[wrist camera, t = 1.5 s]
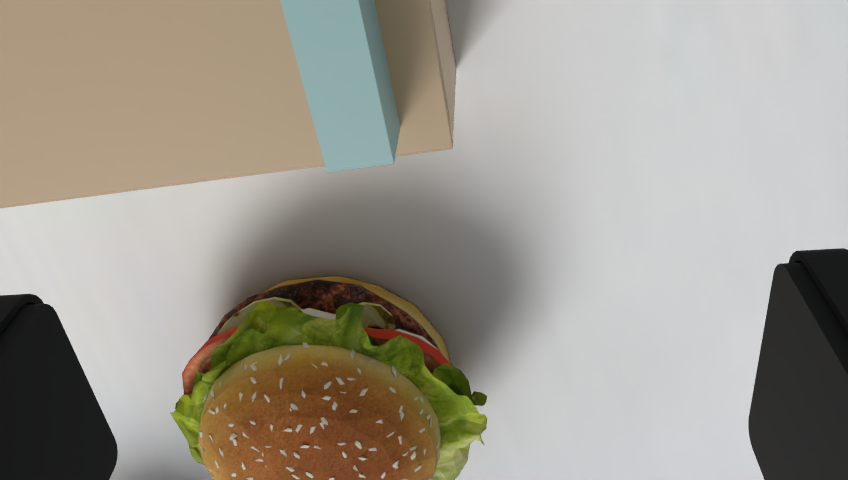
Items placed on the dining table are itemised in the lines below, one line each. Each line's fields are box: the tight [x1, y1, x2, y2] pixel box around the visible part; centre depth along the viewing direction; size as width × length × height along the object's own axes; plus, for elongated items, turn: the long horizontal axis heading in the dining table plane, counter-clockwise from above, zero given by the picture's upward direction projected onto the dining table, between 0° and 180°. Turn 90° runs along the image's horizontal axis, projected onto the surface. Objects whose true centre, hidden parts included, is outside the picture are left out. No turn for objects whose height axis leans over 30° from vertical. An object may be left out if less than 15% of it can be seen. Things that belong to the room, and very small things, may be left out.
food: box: [171, 276, 487, 480], centre depth 36 cm, size 14×14×8 cm
